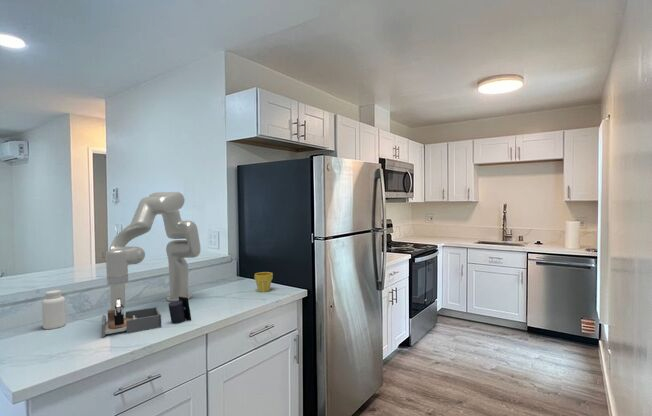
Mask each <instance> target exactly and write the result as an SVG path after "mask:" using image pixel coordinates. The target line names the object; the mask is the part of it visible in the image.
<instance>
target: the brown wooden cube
mask: <svg viewBox="0 0 652 416" xmlns="http://www.w3.org/2000/svg"><path fill="white" fill-rule="evenodd" d="M114 315H115V314H114V309H113V310H111V309H108V310H107V322H109V321H111V320H114Z"/></svg>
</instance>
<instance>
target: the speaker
mask: <svg viewBox="0 0 652 416" xmlns="http://www.w3.org/2000/svg"><path fill="white" fill-rule="evenodd" d="M189 303H190V302H189V299H188V298H187V297H179V300H178V301H170V303H168V310H169V316H170V321H171V322H170V323H172V324H181V323H182V322H185V320H187V321H192V314H191V309H190V304H189Z"/></svg>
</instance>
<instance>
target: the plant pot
mask: <svg viewBox="0 0 652 416" xmlns="http://www.w3.org/2000/svg"><path fill="white" fill-rule="evenodd" d="M273 276H274V275H273V272H269V271H262V272H261V271H260V272H256V273H254V281H255V283H256V287H257V291H258V292H260V293H264V292H265V293H266V292H269V291H270V290H271V284H272V280H273Z"/></svg>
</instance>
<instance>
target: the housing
mask: <svg viewBox="0 0 652 416" xmlns="http://www.w3.org/2000/svg"><path fill="white" fill-rule="evenodd" d="M133 315H135V318H136V317H137V319H132V320H126V325H127V330H126V334H132V333H137V332H144V331H149V330H154V329H159V328H162V314H161V312H160V310H159V308H158V306H155V307H147V308H141V309H134V310H129V311H127V310H126V311H125V318H129V319H130V318H133Z"/></svg>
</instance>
